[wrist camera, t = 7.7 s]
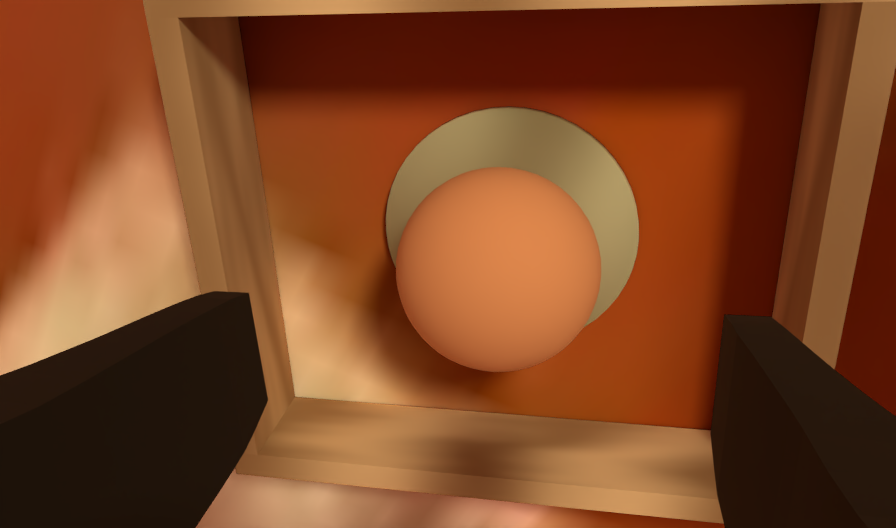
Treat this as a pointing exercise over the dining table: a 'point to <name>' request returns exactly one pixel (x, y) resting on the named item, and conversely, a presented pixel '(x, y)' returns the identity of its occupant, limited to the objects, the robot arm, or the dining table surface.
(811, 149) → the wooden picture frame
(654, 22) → the dining table surface
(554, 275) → the ball
